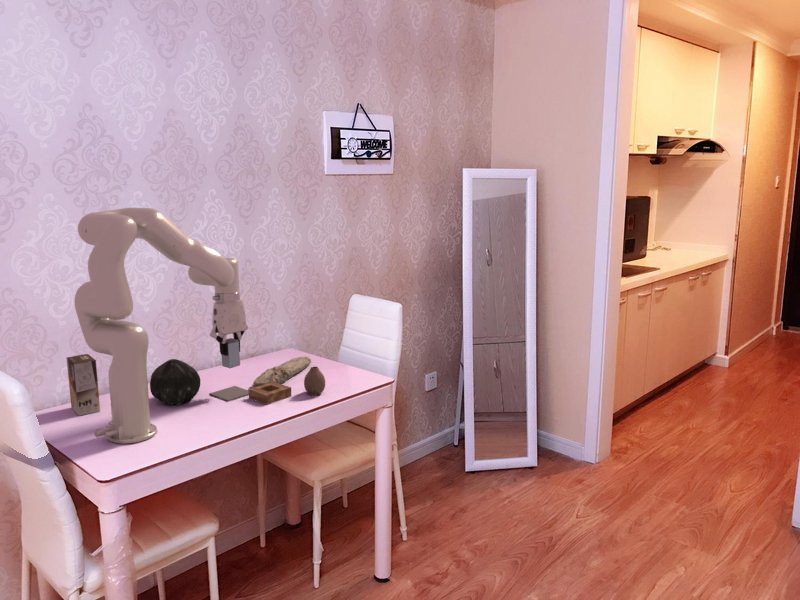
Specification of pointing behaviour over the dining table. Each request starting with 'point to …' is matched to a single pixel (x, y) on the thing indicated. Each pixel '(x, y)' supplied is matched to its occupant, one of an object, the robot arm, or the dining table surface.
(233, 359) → the plug
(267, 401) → the socket block
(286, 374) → the brown bread loaf
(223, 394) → the coaster
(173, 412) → the dining table surface
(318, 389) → the vase
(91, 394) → the coffee box
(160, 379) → the squash
